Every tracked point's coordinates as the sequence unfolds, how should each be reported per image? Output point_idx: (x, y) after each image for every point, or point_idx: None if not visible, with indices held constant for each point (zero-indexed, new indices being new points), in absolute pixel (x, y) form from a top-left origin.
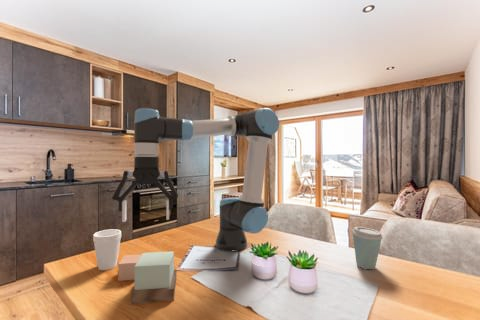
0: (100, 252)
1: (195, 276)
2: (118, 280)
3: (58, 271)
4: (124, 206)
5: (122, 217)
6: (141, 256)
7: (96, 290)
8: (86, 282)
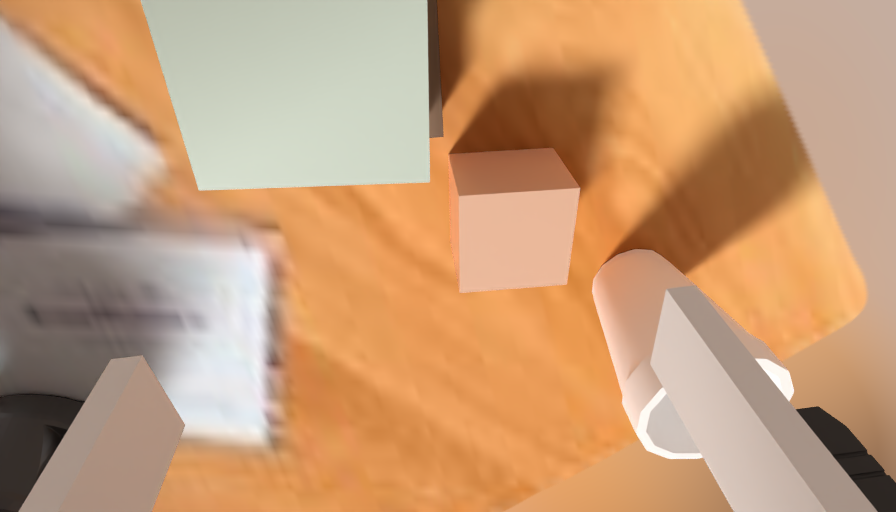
0: None
1: (141, 154)
2: (552, 148)
3: (826, 250)
4: (802, 474)
5: (723, 325)
6: (424, 115)
7: (639, 64)
8: (698, 146)
